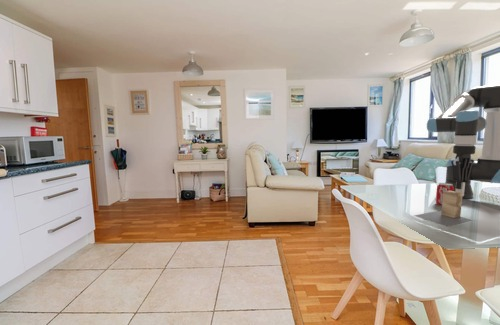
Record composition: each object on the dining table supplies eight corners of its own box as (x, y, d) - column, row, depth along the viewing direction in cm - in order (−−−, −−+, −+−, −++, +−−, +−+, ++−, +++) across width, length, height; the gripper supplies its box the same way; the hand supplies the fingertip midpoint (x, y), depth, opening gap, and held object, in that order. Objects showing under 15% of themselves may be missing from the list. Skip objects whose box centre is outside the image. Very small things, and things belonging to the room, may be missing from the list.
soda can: (455, 208, 123) (457, 185, 122) (439, 207, 125) (441, 185, 123) (447, 204, 130) (449, 182, 129) (432, 203, 132) (434, 182, 130)
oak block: (448, 213, 114) (450, 190, 112) (460, 216, 109) (462, 192, 108) (441, 215, 112) (443, 191, 111) (453, 218, 107) (455, 194, 106)
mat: (438, 211, 118) (438, 210, 118) (472, 221, 105) (473, 220, 105) (413, 216, 112) (413, 215, 112) (447, 227, 99) (447, 226, 99)
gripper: (463, 144, 114) (458, 192, 117) (446, 145, 109) (441, 195, 112) (483, 145, 107) (477, 196, 110) (465, 146, 103) (460, 199, 105)
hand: (459, 195), depth 111 cm, fingers closed
